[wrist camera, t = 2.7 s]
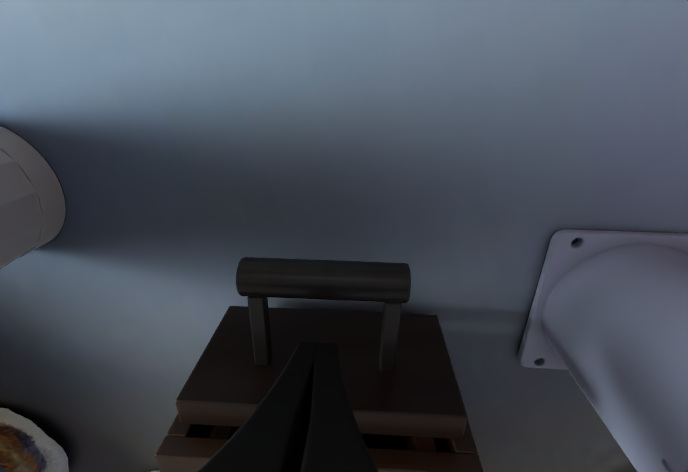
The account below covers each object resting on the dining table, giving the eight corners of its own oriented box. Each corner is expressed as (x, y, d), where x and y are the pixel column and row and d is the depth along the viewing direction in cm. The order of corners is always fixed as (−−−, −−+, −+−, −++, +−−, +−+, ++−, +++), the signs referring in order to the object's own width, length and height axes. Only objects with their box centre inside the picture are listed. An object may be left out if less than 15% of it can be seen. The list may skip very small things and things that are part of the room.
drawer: (217, 218, 16) (145, 290, 11) (450, 226, 16) (494, 304, 10) (252, 463, 23) (219, 578, 18) (412, 473, 23) (427, 594, 18)
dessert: (-31, 393, 22) (-62, 510, 18) (93, 388, 26) (87, 480, 23) (-64, 441, 25) (-95, 548, 21) (52, 429, 30) (42, 515, 26)
